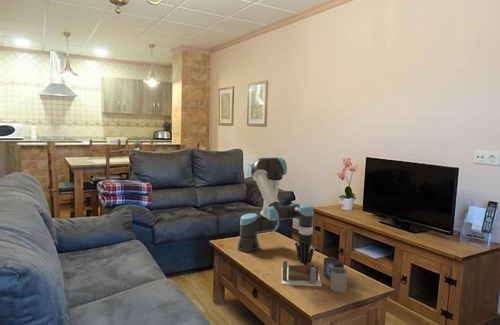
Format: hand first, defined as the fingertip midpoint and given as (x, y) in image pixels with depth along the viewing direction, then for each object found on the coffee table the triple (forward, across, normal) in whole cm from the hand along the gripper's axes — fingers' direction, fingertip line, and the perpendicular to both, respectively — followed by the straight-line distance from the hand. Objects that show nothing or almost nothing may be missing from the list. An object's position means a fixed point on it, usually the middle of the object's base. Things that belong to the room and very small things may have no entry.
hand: (303, 273), depth 196 cm
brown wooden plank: (+1, +2, -3) cm, 4 cm away
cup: (+2, +20, +5) cm, 20 cm away
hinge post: (+3, -4, -11) cm, 12 cm away
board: (+3, -2, 0) cm, 3 cm away
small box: (+3, +10, +13) cm, 17 cm away
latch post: (+2, +8, -2) cm, 9 cm away
